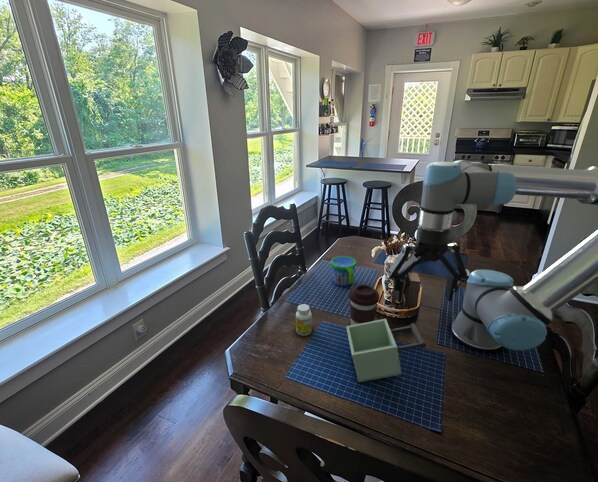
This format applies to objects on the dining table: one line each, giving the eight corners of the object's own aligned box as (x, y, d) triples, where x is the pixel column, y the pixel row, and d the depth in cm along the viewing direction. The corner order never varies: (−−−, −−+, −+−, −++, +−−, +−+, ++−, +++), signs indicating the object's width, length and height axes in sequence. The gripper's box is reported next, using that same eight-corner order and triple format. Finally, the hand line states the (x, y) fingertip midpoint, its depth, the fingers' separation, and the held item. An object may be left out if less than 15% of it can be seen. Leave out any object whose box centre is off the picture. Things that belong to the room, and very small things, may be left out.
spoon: (471, 273, 144) (472, 270, 143) (455, 292, 130) (456, 289, 129) (461, 270, 146) (462, 267, 146) (445, 289, 132) (446, 285, 131)
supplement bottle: (314, 333, 108) (314, 309, 104) (300, 338, 106) (299, 314, 102) (307, 324, 113) (307, 301, 109) (293, 328, 110) (292, 305, 107)
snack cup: (325, 275, 145) (326, 254, 141) (347, 272, 147) (348, 252, 143) (336, 293, 130) (337, 271, 127) (361, 290, 133) (362, 268, 129)
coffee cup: (376, 338, 105) (380, 299, 100) (346, 334, 107) (348, 296, 101) (376, 319, 114) (379, 283, 109) (348, 316, 116) (349, 280, 110)
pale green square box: (416, 339, 98) (412, 313, 94) (431, 369, 87) (427, 341, 83) (352, 351, 100) (346, 326, 96) (358, 382, 89) (351, 355, 85)
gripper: (476, 220, 83) (461, 290, 91) (380, 222, 83) (374, 292, 91) (493, 230, 76) (475, 305, 84) (387, 233, 76) (380, 308, 84)
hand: (422, 299), depth 88 cm, fingers open, 13 cm apart
